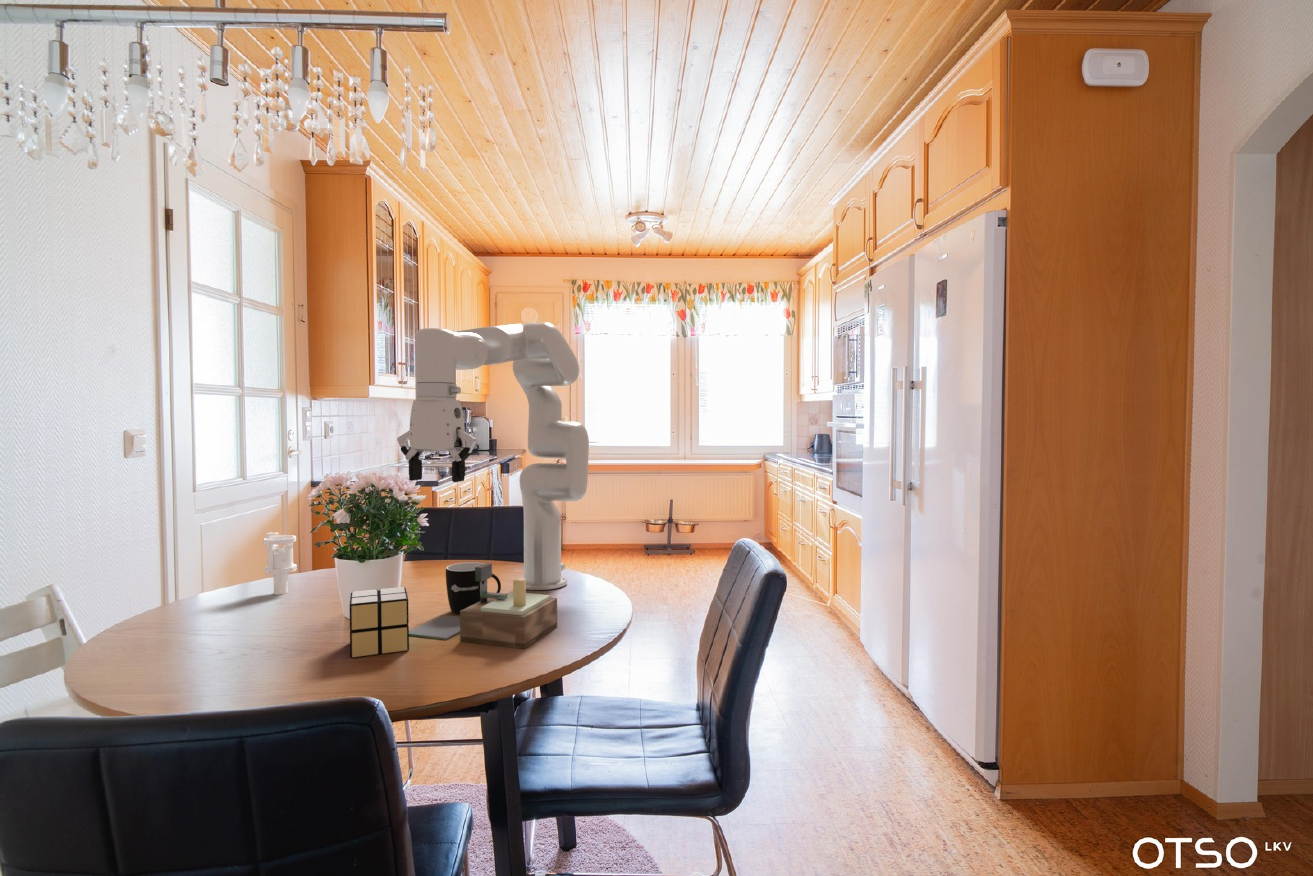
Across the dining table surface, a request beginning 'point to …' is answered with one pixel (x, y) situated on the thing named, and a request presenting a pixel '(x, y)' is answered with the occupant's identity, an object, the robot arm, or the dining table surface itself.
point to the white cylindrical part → (280, 560)
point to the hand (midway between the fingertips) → (436, 480)
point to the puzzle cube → (379, 622)
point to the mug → (463, 585)
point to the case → (507, 625)
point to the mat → (438, 628)
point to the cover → (516, 600)
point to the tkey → (482, 575)
